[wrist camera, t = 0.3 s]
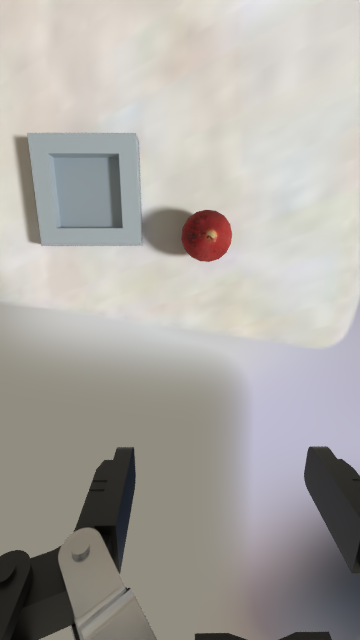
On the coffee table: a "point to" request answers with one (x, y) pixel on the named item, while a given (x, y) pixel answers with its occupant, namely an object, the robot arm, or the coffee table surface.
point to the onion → (206, 235)
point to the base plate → (87, 188)
